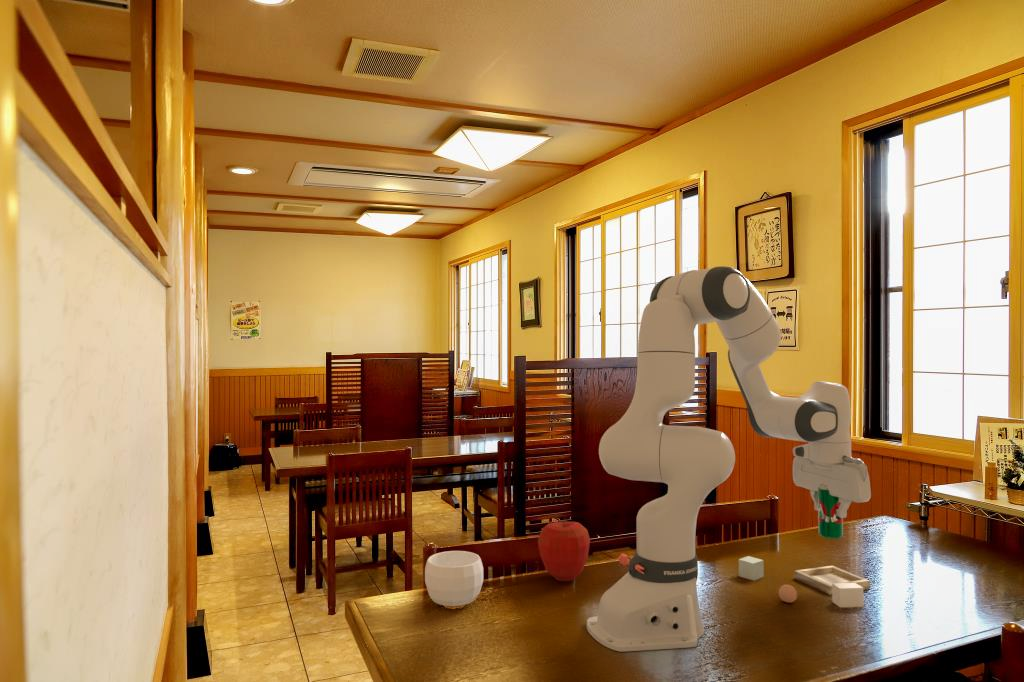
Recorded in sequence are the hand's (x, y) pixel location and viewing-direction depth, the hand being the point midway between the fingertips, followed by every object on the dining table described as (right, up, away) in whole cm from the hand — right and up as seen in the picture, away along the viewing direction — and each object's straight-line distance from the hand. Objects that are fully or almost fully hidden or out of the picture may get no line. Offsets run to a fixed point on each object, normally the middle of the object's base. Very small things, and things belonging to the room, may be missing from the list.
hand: (830, 513), depth 156 cm
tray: (0, -16, 0) cm, 16 cm away
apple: (-60, -17, +4) cm, 63 cm away
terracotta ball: (-14, -14, -11) cm, 23 cm away
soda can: (0, -5, 0) cm, 5 cm away
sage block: (-16, -16, +5) cm, 23 cm away
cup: (-85, -17, -11) cm, 87 cm away
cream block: (-2, -16, -13) cm, 20 cm away
